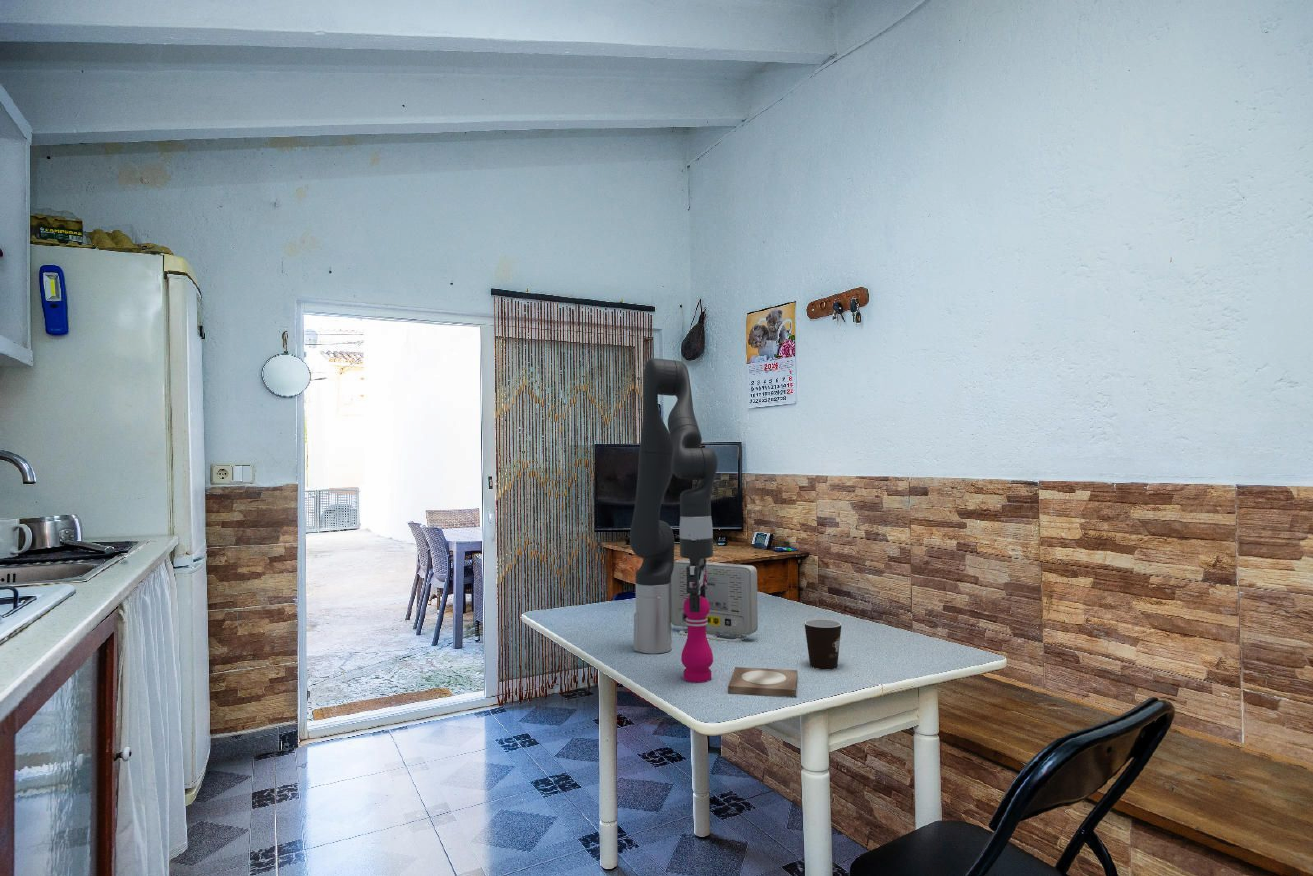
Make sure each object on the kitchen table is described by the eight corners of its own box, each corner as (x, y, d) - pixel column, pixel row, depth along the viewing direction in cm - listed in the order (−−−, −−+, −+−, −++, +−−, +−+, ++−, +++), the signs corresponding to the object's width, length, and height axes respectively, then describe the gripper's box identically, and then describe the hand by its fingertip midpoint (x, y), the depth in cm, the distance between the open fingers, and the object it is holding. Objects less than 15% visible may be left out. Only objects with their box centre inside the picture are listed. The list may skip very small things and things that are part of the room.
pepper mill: (703, 685, 156) (702, 593, 157) (675, 680, 160) (674, 590, 161) (719, 676, 162) (717, 587, 163) (691, 671, 166) (690, 585, 167)
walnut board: (728, 693, 151) (728, 685, 151) (735, 673, 164) (735, 666, 164) (795, 697, 148) (795, 689, 148) (797, 677, 161) (797, 669, 161)
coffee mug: (821, 673, 164) (820, 629, 164) (797, 663, 172) (796, 621, 172) (859, 665, 169) (859, 623, 170) (835, 657, 177) (834, 616, 177)
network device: (761, 638, 197) (760, 565, 197) (747, 645, 189) (746, 569, 190) (681, 627, 210) (680, 558, 211) (665, 633, 203) (664, 562, 204)
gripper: (685, 532, 170) (686, 601, 169) (674, 539, 156) (675, 614, 156) (716, 532, 169) (718, 602, 168) (708, 539, 155) (710, 615, 154)
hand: (697, 608), depth 162 cm, fingers open, 8 cm apart
